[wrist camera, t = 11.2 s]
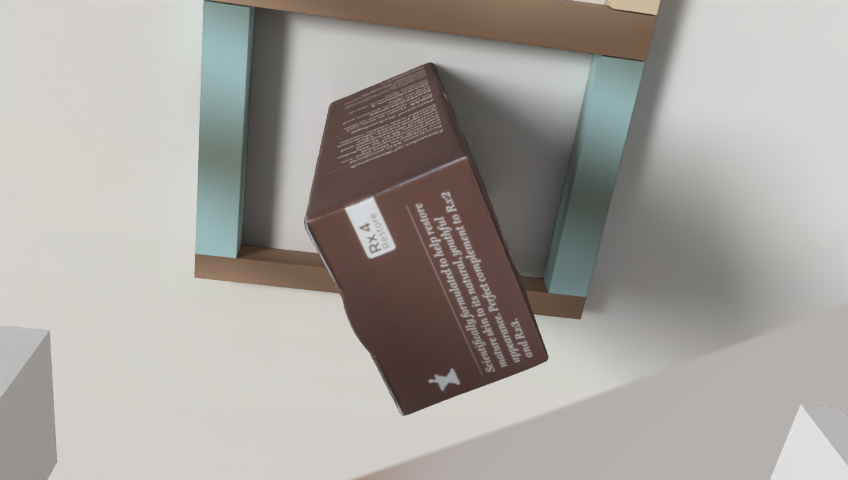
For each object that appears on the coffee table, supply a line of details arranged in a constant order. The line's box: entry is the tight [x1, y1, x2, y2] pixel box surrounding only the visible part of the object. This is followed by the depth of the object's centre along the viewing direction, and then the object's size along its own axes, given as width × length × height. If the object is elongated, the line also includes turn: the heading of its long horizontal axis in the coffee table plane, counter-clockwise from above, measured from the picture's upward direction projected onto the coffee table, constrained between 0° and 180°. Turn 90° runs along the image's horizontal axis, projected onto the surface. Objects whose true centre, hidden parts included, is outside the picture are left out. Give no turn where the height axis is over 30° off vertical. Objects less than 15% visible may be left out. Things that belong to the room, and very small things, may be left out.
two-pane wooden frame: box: [195, 0, 660, 319], centre depth 27 cm, size 22×15×1 cm
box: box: [304, 63, 548, 416], centre depth 25 cm, size 6×4×12 cm
